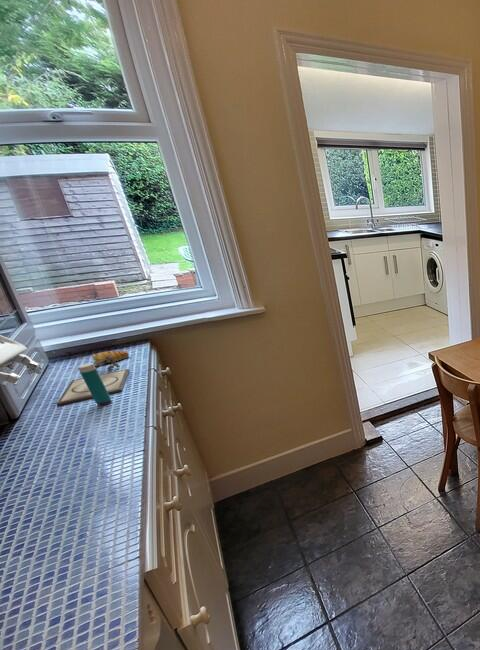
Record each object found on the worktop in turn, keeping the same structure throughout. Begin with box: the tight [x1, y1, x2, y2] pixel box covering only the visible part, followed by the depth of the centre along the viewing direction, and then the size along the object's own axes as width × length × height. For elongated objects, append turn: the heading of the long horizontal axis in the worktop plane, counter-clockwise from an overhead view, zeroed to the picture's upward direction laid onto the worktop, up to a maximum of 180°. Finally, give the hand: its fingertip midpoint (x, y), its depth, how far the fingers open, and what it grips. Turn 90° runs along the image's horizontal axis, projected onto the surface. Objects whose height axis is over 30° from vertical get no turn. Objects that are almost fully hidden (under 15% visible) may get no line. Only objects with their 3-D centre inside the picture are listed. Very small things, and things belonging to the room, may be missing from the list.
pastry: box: [92, 350, 130, 366], centre depth 147 cm, size 9×7×4 cm
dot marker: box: [77, 362, 113, 407], centre depth 115 cm, size 3×3×12 cm
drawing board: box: [56, 368, 130, 407], centre depth 128 cm, size 14×20×1 cm
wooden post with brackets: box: [94, 356, 120, 371], centre depth 140 cm, size 2×8×4 cm, turn 107°
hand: (28, 373), depth 108 cm, fingers open, 8 cm apart
